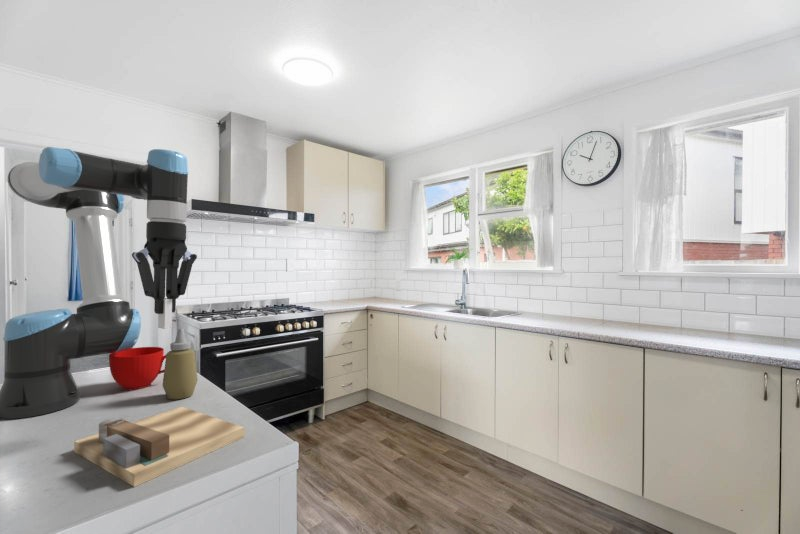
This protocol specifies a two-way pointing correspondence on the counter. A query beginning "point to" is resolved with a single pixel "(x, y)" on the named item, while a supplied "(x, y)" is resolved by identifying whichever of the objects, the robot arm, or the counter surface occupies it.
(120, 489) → the counter surface
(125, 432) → the hinged leg
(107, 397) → the counter surface
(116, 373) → the ceramic cup
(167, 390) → the squeeze bottle
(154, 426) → the wooden flat board
